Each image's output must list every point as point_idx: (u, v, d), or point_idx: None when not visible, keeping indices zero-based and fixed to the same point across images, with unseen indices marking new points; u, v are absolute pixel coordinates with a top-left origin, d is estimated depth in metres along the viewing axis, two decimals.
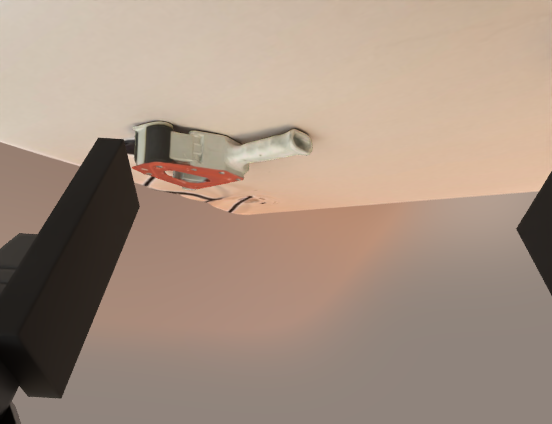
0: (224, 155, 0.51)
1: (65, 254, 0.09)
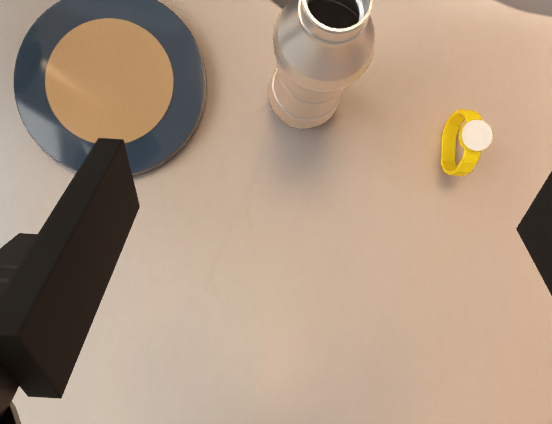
0: None
1: (65, 254, 0.09)
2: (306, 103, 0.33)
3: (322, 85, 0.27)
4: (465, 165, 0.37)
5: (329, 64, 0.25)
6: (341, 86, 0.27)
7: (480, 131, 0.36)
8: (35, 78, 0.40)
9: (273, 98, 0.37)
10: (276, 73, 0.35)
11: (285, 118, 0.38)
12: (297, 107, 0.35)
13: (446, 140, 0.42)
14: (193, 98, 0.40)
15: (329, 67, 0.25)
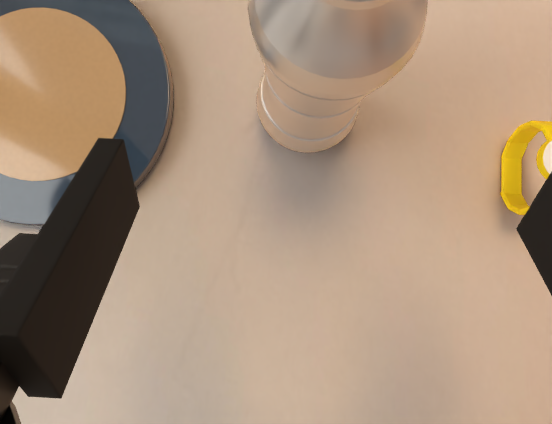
0: None
1: (65, 254, 0.09)
2: (309, 118, 0.21)
3: (335, 86, 0.15)
4: None
5: (349, 47, 0.13)
6: (369, 87, 0.15)
7: None
8: None
9: (262, 111, 0.26)
10: (264, 74, 0.23)
11: (281, 139, 0.27)
12: (296, 124, 0.23)
13: (508, 164, 0.30)
14: (153, 114, 0.29)
15: (348, 52, 0.14)
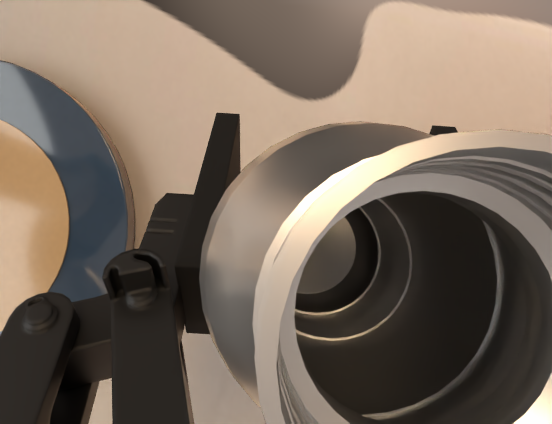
0: None
1: None
2: None
3: None
4: None
5: None
6: None
7: None
8: None
9: None
10: None
11: None
12: None
13: None
14: (106, 252, 0.22)
15: None
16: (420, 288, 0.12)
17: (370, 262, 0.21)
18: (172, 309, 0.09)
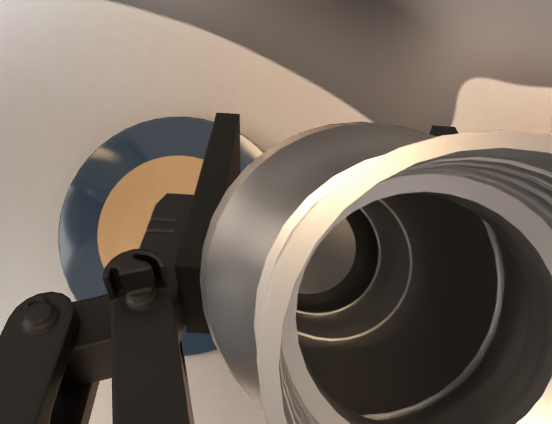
0: None
1: None
2: None
3: None
4: None
5: None
6: None
7: None
8: (85, 231, 0.32)
9: None
10: None
11: None
12: None
13: None
14: None
15: None
16: (420, 288, 0.12)
17: (370, 262, 0.21)
18: (172, 309, 0.09)
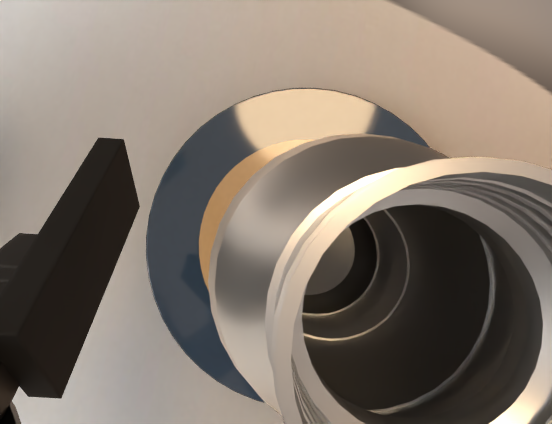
0: None
1: (65, 254, 0.09)
2: None
3: None
4: None
5: None
6: None
7: None
8: (182, 242, 0.24)
9: None
10: None
11: None
12: None
13: None
14: None
15: None
16: (417, 290, 0.13)
17: (369, 264, 0.21)
18: None
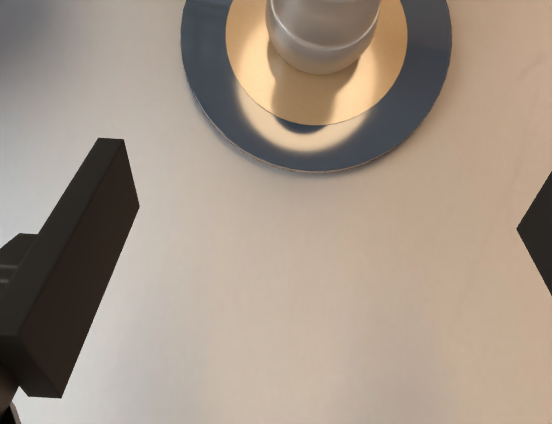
0: None
1: (65, 254, 0.09)
2: (327, 3, 0.19)
3: None
4: None
5: None
6: None
7: None
8: (212, 32, 0.28)
9: (272, 19, 0.23)
10: None
11: (292, 53, 0.24)
12: (311, 20, 0.21)
13: None
14: (435, 57, 0.28)
15: None
16: None
17: None
18: None
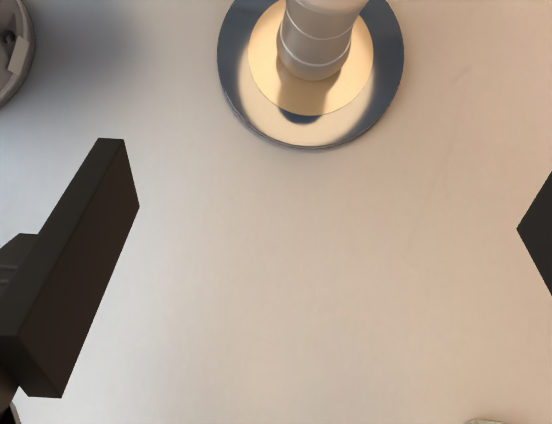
0: None
1: (65, 254, 0.09)
2: (315, 40, 0.31)
3: (332, 1, 0.25)
4: None
5: None
6: (352, 3, 0.26)
7: None
8: (238, 51, 0.40)
9: (281, 45, 0.36)
10: (284, 14, 0.34)
11: (294, 67, 0.37)
12: (306, 48, 0.33)
13: None
14: (393, 68, 0.40)
15: None
16: None
17: None
18: None
